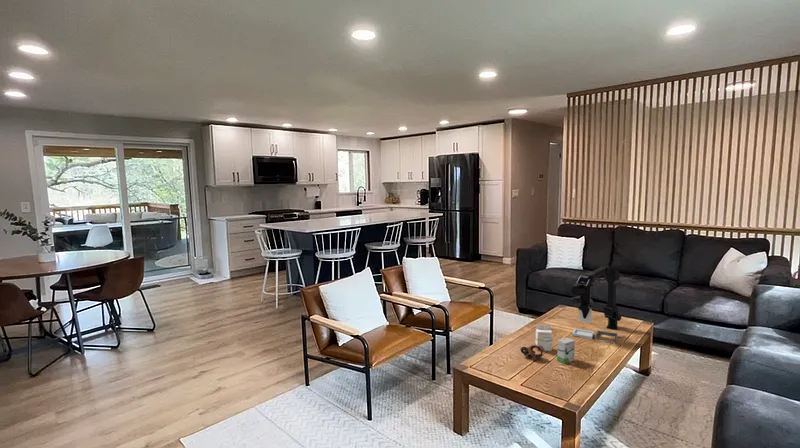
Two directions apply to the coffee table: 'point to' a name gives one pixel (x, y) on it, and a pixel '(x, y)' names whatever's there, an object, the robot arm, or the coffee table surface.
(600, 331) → the grey flat square frame
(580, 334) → the tray
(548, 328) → the ink cartridge box
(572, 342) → the ink box
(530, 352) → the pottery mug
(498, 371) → the coffee table surface
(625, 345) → the coffee table surface
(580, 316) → the cream box grey panel
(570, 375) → the coffee table surface
